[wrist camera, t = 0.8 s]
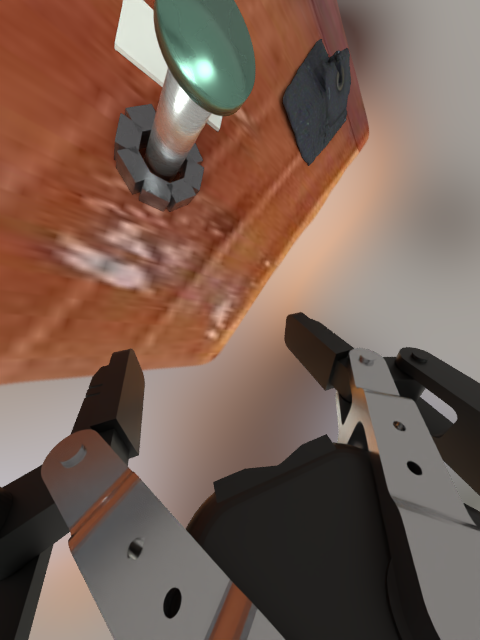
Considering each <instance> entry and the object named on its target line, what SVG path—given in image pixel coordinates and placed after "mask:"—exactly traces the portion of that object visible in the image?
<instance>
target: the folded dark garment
mask: <svg viewBox="0 0 480 640" xmlns="http://www.w3.org/2000/svg"><path fill="white" fill-rule="evenodd" d="M328 55H329V54H327V52H326V50H325V47H324V45H323V43H322V39H320V40H319V41H317V42H316V44H315V46H314V47H313V48H312V50H311V51H310V53H309V54H308V56H307V58H306V59H305V61H304V62H303V63H302V65H301V66H300V67H299V69H298V71H297V73H296V75H295V77H294V79H293V80H292V82H291V84H290V85H289V86H288V87H287V89H286V91H285V94H284V97H283V105H284V107H285V110H286V112H287V114H288V119H289V121H290V123H291V126H292V129H293V131H294V133H295V138H296V142H297V145H298V147H299V150H300V152H301V156H302V158H303V159H304V161H305V162H306V163H307V164H308V166H309V165H310V164H311V163H312V162H313V161H314V159H315V158H316V156H318V155H319V154H320V153H321V151H322V150H323V149H324V148H325V147H326V146H327V145H328V143H329V141H331V139H332V138H333V136H334V135H335V134H336V133H337V131H338V130H339V129H340V128H341V126H342V125H343V124H344V122H345V121H346V116H347V110H346V106H347V98H348V94H349V91H350V84H351V76H350V67H349V56H350V54H349V50H348V48H346V49H344V50H342V51H339V50H338V51H336V52H335V53H334V55H333V56H331V57H330V58H329V57H328Z"/></svg>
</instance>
